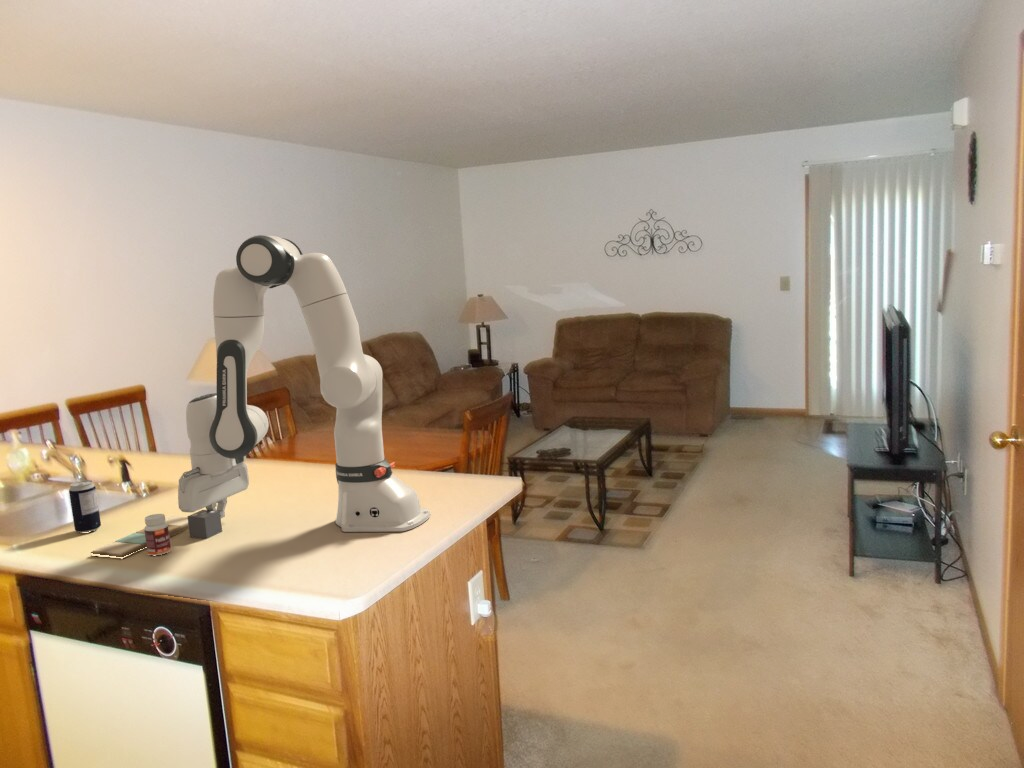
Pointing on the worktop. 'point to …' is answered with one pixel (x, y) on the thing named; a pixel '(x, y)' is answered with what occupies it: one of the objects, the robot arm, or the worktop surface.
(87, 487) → the beverage can
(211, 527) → the die
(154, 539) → the pill bottle
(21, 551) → the worktop surface
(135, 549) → the board
